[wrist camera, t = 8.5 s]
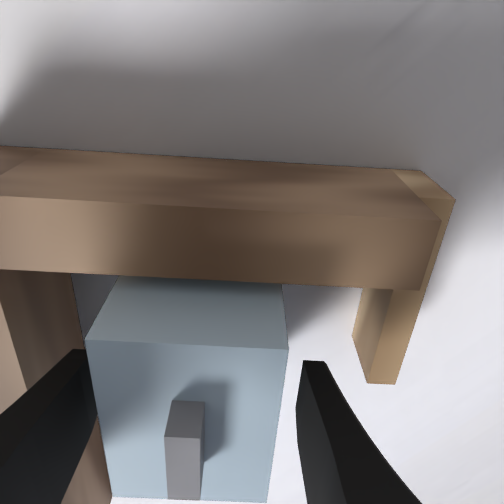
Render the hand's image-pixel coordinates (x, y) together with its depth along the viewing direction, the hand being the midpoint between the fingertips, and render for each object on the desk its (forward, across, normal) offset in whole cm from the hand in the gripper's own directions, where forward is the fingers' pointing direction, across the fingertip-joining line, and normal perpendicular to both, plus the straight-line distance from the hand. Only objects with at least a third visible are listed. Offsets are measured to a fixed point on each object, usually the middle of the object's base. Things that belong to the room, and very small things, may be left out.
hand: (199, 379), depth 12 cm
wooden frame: (+4, 0, +4) cm, 6 cm away
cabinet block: (+4, 0, 0) cm, 4 cm away
